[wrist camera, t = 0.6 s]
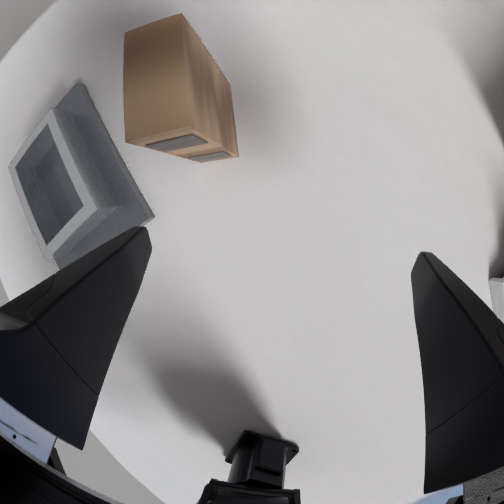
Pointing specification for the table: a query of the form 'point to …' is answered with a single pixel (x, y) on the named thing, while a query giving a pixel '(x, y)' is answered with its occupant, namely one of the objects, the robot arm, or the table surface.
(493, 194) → the table surface
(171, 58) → the tan tall block
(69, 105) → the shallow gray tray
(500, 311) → the hinge
